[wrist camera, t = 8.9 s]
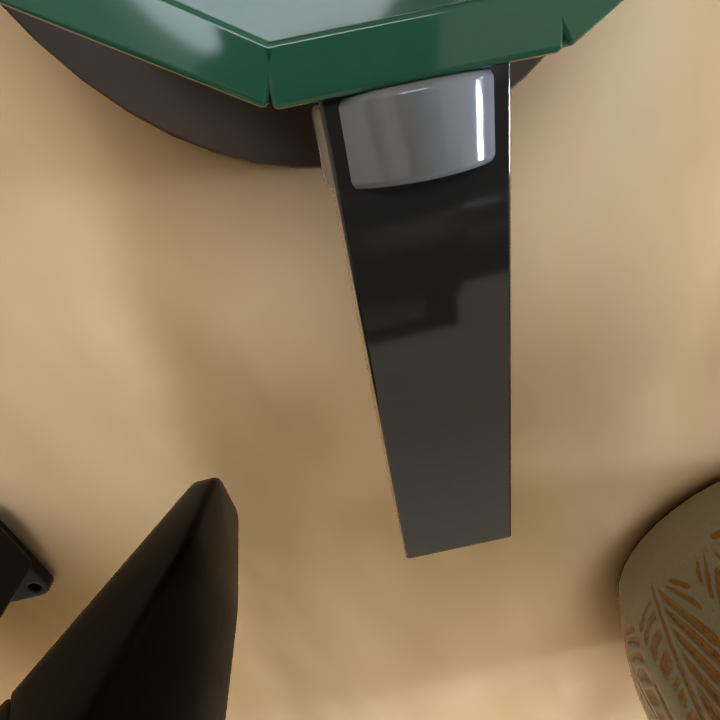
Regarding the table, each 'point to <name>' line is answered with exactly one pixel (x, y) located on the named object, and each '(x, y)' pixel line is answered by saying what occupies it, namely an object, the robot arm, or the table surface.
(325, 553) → the table surface
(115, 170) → the table surface
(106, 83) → the dark round saucer
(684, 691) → the vase
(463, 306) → the pot
